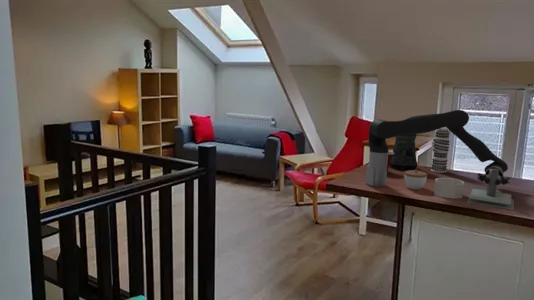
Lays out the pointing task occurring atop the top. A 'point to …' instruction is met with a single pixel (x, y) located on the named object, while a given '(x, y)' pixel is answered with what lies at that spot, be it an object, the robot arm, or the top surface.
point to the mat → (492, 203)
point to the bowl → (449, 188)
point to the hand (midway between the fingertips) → (492, 182)
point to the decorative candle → (440, 150)
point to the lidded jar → (415, 179)
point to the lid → (491, 191)
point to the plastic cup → (389, 159)
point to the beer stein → (404, 153)
